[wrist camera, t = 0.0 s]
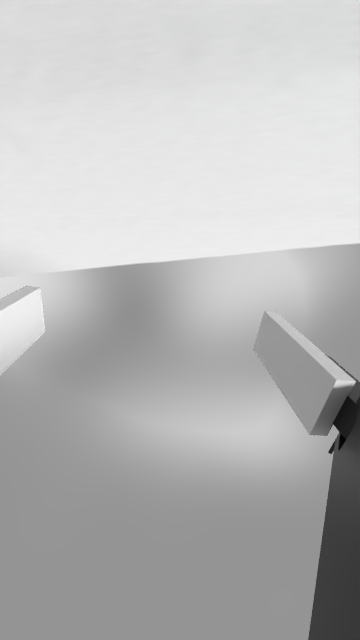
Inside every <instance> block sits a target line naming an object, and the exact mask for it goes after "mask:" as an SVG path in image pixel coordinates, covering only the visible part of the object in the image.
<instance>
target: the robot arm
mask: <svg viewBox="0 0 360 640" xmlns="http://www.w3.org/2000/svg"><path fill="white" fill-rule="evenodd" d="M44 332H45V325H44V315H43V306H42V297H41V288H39V287H30V286H25V287H23V288H21V289H19V290H17V291H15V292H13V293H11V294H9V295H7V296H6V297H3V298H2V299H0V375H1V374H2V373H3V372H4V371H5V370H6V369H7V368H8V367H9V366H11V364H13V362H15V361H16V360H17V359H18V357H20V356H21V355H22V354H23V353H24V352H25V351H26V350H27V349H28V348H29V347H30V346H31V345H32V344H33V343H34V342H35V341H36V340H37V339H38V338H39V337H40V336H41V335H42V334H43V333H44ZM254 351H255V353H256V354H257V356H258V357H259V359H260V360H261V362H262V363H263V365H264V366H265V368H266V369H267V371H268V372H269V374H270V375H271V377H272V378H273V380H274V381H275V383H276V385H277V386H278V388H279V389H280V391H281V392H282V394H283V395H284V397H285V398H286V399H287V401H288V403H289V404H290V406H291V407H292V409H293V410H294V412H295V413H296V415H297V416H298V418H299V419H300V421H301V422H302V424H303V426H304V427H305V429H306V430H307V432H308V433H309V434H310V435H324V436H327V435H328V433H329V431H330V429H331V427H332V425H333V424H334V426H336V428H337V429H338V430H339V435H338V436H337V438H336V440H335V442H334V443H333V445H332V447H331V448H330V450H329V453H330V454H332V452H333V451H334V455H333V463H332V470H331V477H330V485H329V492H328V499H327V506H326V514H325V522H324V529H323V536H322V544H321V551H320V558H319V565H318V573H317V580H316V588H315V595H314V602H313V610H312V617H311V625H310V632H309V639H308V640H360V382H359V381H358V380H357V379H355V378H354V377H353V376H352V375H351V374H349V373H348V372H347V371H345V369H344V368H343V367H341V366H339V365H338V363H337V362H336V361H334V360H333V359H332V358H331V357H329V356H327V355H325V354H324V353H323V352H322V351H320V350H319V349H318V348H317V347H316V346H315V345H313V344H312V343H311V342H310V341H309V340H308V339H307V338H305V337H304V336H303V335H302V334H301V333H300V332H299V331H297V330H296V329H295V328H294V327H293V326H292V325H291V324H289V323H288V322H287V321H286V320H285V319H284V318H283V317H281V316H280V315H279V314H278V313H277V312H269V311H265V312H264V315H263V318H262V322H261V325H260V328H259V332H258V335H257V339H256V342H255V345H254Z"/></svg>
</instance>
